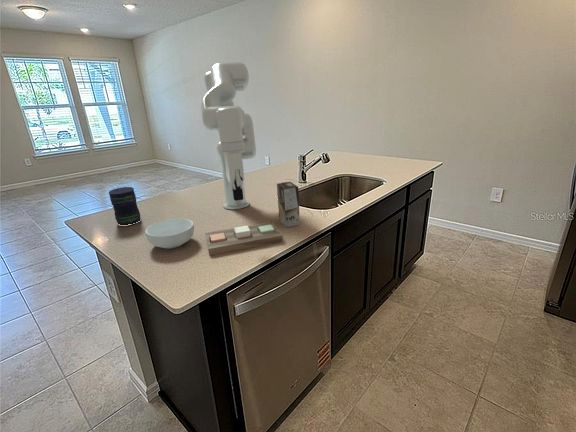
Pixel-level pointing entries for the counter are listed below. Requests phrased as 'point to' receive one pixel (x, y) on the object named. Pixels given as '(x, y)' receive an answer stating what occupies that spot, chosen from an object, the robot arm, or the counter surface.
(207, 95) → the robot arm
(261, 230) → the sage tile
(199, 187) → the counter surface
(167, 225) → the cereal bowl
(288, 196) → the coffee box
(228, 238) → the tile frame
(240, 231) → the cream tile
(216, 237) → the terracotta tile
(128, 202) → the storage jar
